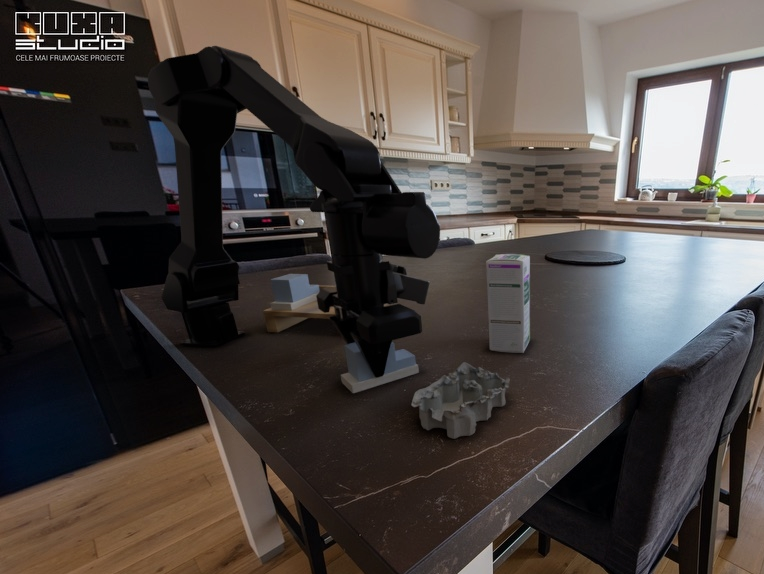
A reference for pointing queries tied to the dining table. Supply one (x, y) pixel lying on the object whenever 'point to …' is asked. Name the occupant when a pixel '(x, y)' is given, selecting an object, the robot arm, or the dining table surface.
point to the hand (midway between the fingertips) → (373, 371)
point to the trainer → (362, 376)
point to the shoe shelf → (295, 315)
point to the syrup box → (508, 302)
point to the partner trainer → (292, 291)
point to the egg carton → (460, 400)
